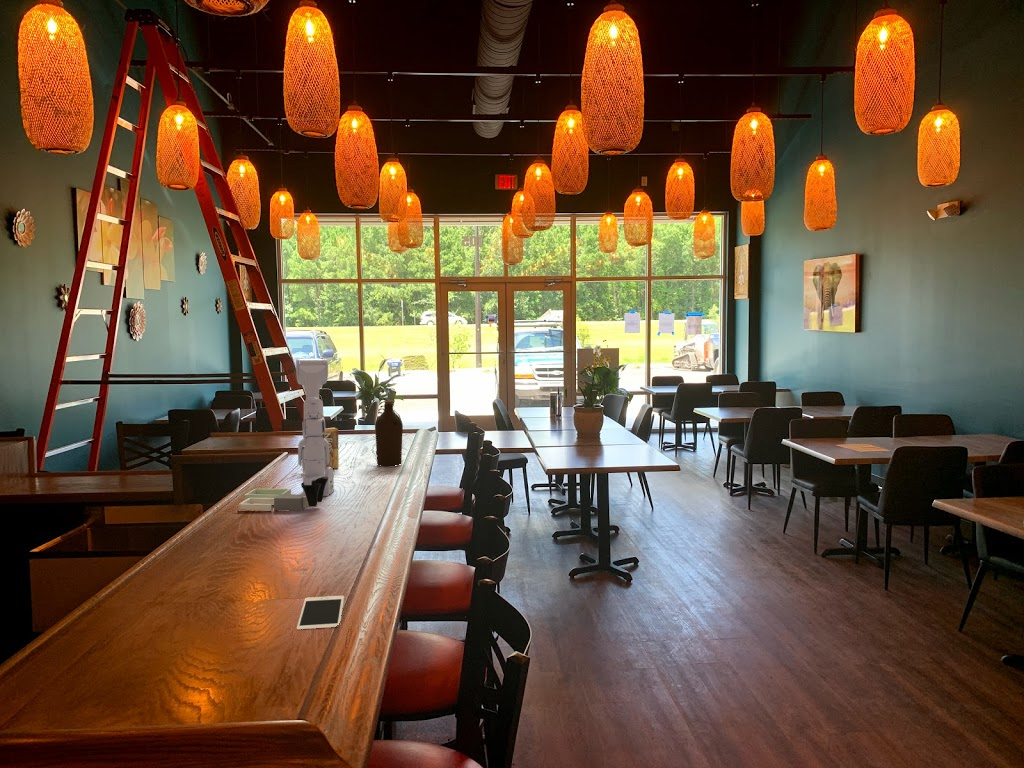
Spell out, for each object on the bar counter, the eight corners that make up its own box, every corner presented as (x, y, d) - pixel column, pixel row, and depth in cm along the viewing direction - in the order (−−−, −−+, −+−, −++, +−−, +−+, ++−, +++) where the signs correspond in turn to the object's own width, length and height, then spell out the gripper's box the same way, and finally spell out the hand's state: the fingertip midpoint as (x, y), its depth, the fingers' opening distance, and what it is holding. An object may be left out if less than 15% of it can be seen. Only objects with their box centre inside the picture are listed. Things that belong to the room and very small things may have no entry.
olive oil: (407, 463, 301) (407, 400, 299) (394, 468, 291) (394, 402, 289) (384, 461, 305) (383, 399, 303) (370, 466, 295) (369, 401, 293)
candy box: (334, 466, 294) (333, 427, 292) (339, 468, 290) (338, 428, 289) (312, 469, 288) (311, 429, 287) (317, 471, 285) (316, 430, 283)
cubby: (280, 505, 233) (280, 498, 233) (271, 512, 225) (270, 504, 225) (249, 504, 234) (249, 497, 234) (238, 511, 226) (238, 504, 226)
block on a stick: (319, 507, 231) (319, 494, 231) (314, 511, 226) (314, 498, 226) (280, 507, 232) (279, 494, 231) (274, 511, 227) (274, 498, 226)
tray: (291, 496, 245) (290, 488, 244) (281, 503, 236) (281, 495, 236) (255, 496, 245) (254, 488, 245) (244, 502, 237) (244, 494, 236)
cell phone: (344, 598, 157) (344, 595, 157) (339, 629, 142) (339, 626, 142) (305, 600, 156) (305, 597, 156) (296, 632, 140) (296, 629, 140)
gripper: (308, 454, 235) (309, 497, 236) (293, 463, 220) (294, 509, 222) (331, 454, 234) (332, 498, 236) (317, 463, 220) (318, 510, 221)
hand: (315, 503), depth 229 cm, fingers open, 5 cm apart
